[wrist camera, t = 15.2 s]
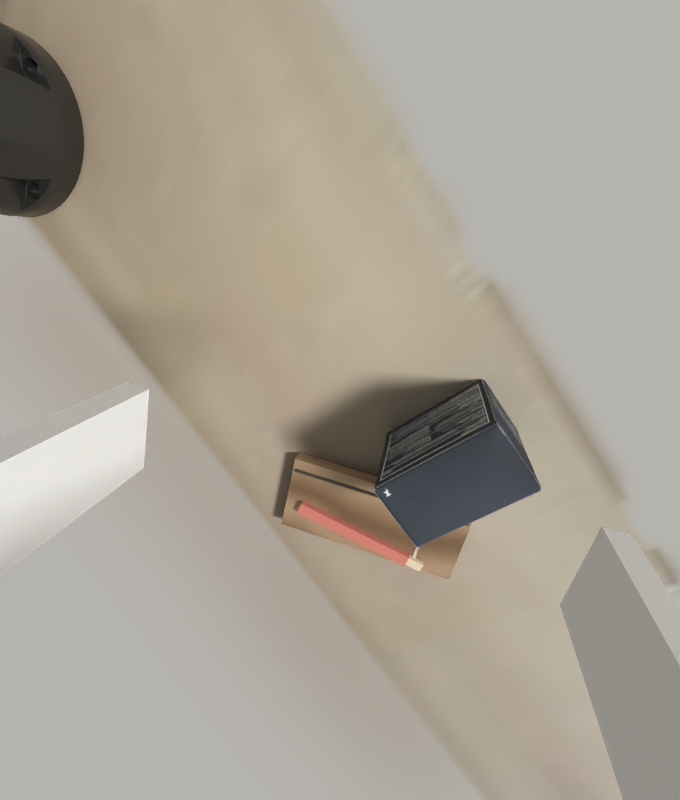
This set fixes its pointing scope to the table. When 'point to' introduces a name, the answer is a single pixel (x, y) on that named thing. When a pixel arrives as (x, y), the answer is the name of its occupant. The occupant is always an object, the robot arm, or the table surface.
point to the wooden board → (360, 512)
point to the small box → (453, 466)
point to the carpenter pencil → (359, 536)
